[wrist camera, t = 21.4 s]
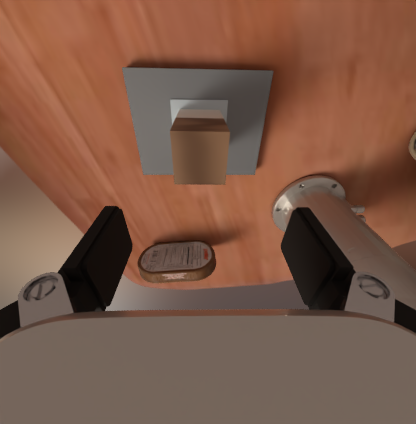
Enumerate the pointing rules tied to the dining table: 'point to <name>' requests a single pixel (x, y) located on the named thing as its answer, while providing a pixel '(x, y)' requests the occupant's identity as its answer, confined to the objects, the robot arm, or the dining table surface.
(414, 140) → the pencil case
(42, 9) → the dining table surface
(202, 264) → the tin
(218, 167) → the walnut block
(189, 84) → the grey tray
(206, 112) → the off-white block
